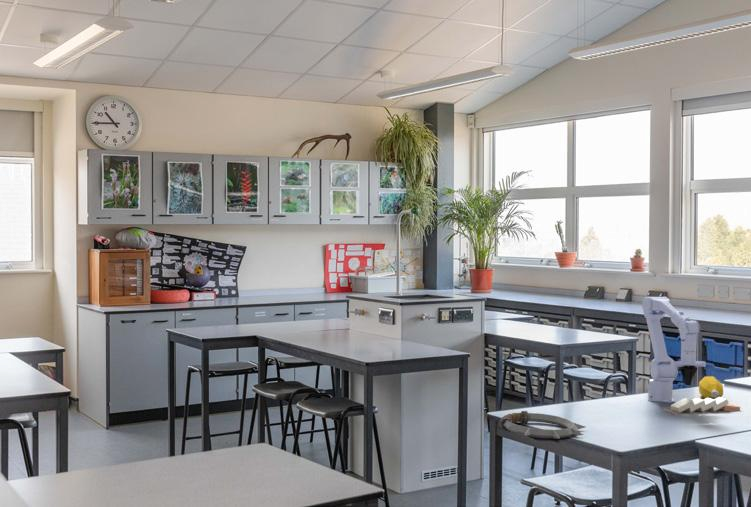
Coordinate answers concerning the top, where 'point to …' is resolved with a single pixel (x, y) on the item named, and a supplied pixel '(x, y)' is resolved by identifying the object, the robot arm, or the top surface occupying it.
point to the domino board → (692, 412)
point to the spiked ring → (524, 417)
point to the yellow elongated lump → (710, 388)
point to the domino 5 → (730, 408)
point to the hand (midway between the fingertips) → (687, 384)
